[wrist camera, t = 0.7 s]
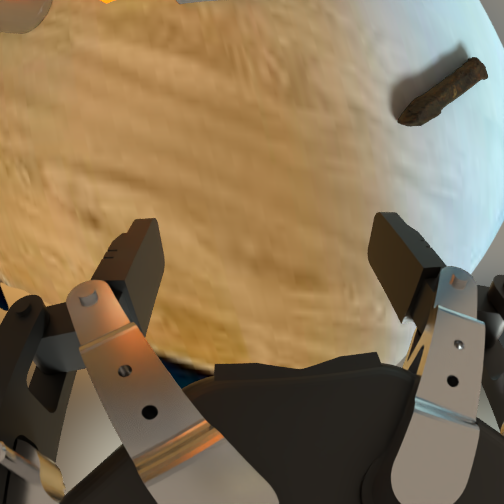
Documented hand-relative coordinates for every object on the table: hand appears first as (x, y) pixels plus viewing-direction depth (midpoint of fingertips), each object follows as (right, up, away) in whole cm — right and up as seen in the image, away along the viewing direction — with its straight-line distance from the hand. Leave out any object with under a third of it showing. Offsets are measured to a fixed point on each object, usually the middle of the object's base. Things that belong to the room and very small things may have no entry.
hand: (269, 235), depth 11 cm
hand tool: (+27, +23, +24) cm, 43 cm away
